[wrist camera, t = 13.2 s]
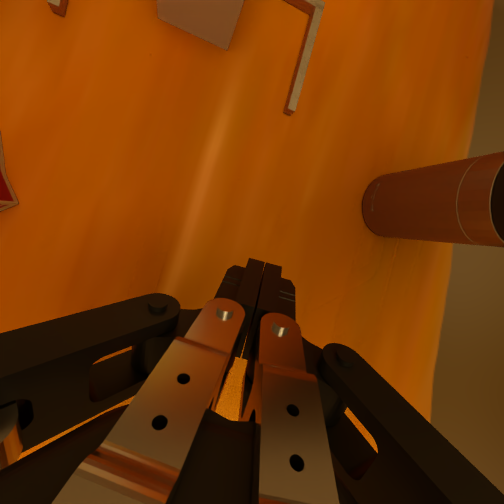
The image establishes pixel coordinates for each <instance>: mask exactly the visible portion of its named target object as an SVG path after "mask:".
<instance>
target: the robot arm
mask: <svg viewBox="0 0 504 504" xmlns="http://www.w3.org/2000/svg"><path fill="white" fill-rule="evenodd" d="M362 210H363V216H364V219H365V222H366V224H367V226H368V227H369V228H370V229H371V230H372V232H374V233H375V234H377V235H379V236H383V237H392V238H403V239H413V240H424V241H435V242H446V243H458V244H469V245H480V246H494V247H504V151H503V152H497V153H492V154H488V155H483V156H478V157H473V158H468V159H463V160H458V161H453V162H447V163H442V164H437V165H432V166H427V167H422V168H417V169H412V170H407V171H401V172H396V173H391V174H386V175H383V176H380V177H378V178H377V179H375V180H374V181H373V182H372V183H371V184H370V185H369V187H368V189H367V190H366V193H365V195H364V199H363V208H362ZM264 263H265V262H262V261H259V260H255V259H251V258H249V260H248V263H247V266H246V268H244V267H240V266H236V265H234V266H232V267H231V268H229V269H228V270H227V272H226V274H225V277H224V278H223V280H222V283H221V285H220V287H219V289H218V291H217V293H216V295H215V298H214V299H212V300H210V301H208V302H207V303H206V304H205V306H204V308H202V309H197V310H186V309H180V304H179V302H178V301H177V300H176V299H175V298H173V297H172V296H169V295H166V294H160V293H153V294H147V295H144V296H140V297H136V298H132V299H129V300H125V301H121V302H117V303H113V304H110V305H106V306H102V307H98V308H95V309H91V310H87V311H83V312H80V313H76V314H72V315H68V316H64V317H61V318H57V319H53V320H49V321H46V322H42V323H38V324H34V325H30V326H27V327H23V328H19V329H15V330H12V331H8V332H4V333H0V504H504V495H503V494H502V493H501V492H500V491H499V490H498V489H497V488H496V487H495V486H494V485H493V484H492V483H491V482H490V481H489V480H488V479H487V478H486V477H485V476H484V475H483V474H482V473H481V472H480V471H478V469H477V468H476V467H474V466H473V465H472V464H471V463H470V462H469V461H468V460H467V459H466V458H465V457H464V456H463V455H462V454H461V453H460V452H459V451H458V450H457V449H456V448H455V447H454V446H453V445H452V444H451V443H449V442H448V440H447V439H446V438H444V437H443V436H442V435H441V434H440V433H439V432H438V431H437V430H436V429H435V428H434V427H433V426H432V425H431V424H430V423H429V422H428V421H427V420H426V419H425V418H424V417H423V416H422V415H421V414H420V413H419V412H418V411H417V410H416V409H415V408H414V407H412V406H411V405H410V404H409V403H408V402H407V401H406V400H405V399H404V398H403V397H402V396H401V395H400V394H399V393H398V392H397V391H396V390H395V389H394V388H393V387H392V386H391V385H390V384H389V383H388V382H387V381H386V380H385V379H384V378H383V377H381V376H380V375H379V374H378V373H377V372H376V371H375V370H374V369H373V368H372V367H371V366H370V365H369V364H368V363H367V362H366V361H365V360H364V359H363V358H362V357H361V356H360V355H359V354H358V353H356V352H355V351H354V350H352V349H351V348H349V347H347V346H345V345H342V344H338V343H330V344H327V345H326V346H325V347H324V348H323V349H321V348H319V347H317V346H315V345H313V344H311V343H310V342H308V341H307V340H305V339H304V338H303V337H302V336H301V330H300V327H299V325H298V324H297V323H296V318H295V287H294V285H293V283H292V282H291V280H287V279H284V278H281V271H282V267H281V266H277V265H273V264H270V263H266V264H265V267H264ZM263 268H264V271H263ZM262 273H263V274H262ZM261 277H262V278H261ZM246 336H247V338H246ZM245 339H246V342H245ZM244 343H245V347H244V351H243V356H242V358H243V359H246V360H248V361H247V366H246V370H245V373H244V376H243V382H242V391H241V400H240V409H239V418H238V421H231V420H228V419H226V418H224V417H222V416H221V415H219V414H217V413H216V412H215V410H216V407H217V404H218V402H219V399H220V396H221V394H222V391H223V388H224V385H225V383H226V380H227V377H228V374H229V371H230V369H231V367H232V366H233V364H234V360H235V357H239V358H240V357H241V353H242V350H243V346H244ZM130 346H132V350H129V351H127V352H124V353H121V354H119V355H116V356H114V357H111V358H109V359H106V360H104V361H101V362H98V363H96V364H93V363H94V362H96V361H97V360H98V359H100V358H102V357H104V356H106V355H109V354H112V353H114V352H117V351H120V350H122V349H125V348H127V347H130ZM134 395H135V397H134V398H133V400H132V401H131V403H130V404H128V405H124V406H121V407H118V408H115V409H113V410H111V411H108V412H106V413H104V414H102V415H100V416H98V417H97V418H95V419H93V420H91V421H89V422H87V423H86V424H84V425H82V426H80V427H78V428H76V429H75V430H73V431H71V432H69V433H67V434H66V435H64V436H62V437H60V438H58V439H56V440H55V441H53V442H51V443H49V444H47V445H45V446H44V447H42V448H40V449H38V450H36V451H35V452H33V453H31V454H29V455H27V456H25V457H24V458H22V459H20V460H18V458H19V456H20V454H21V453H22V452H24V451H26V450H28V449H30V448H32V447H34V446H36V445H38V444H40V443H42V442H44V441H46V440H48V439H50V438H52V437H54V436H56V435H58V434H60V433H62V432H64V431H66V430H67V429H69V428H71V427H73V426H75V425H77V424H79V423H81V422H83V421H85V420H87V419H89V418H91V417H93V416H95V415H97V414H99V413H101V412H103V411H105V410H107V409H109V408H111V407H113V406H115V405H117V404H119V403H121V402H123V401H125V400H127V399H129V398H130V397H132V396H134ZM347 407H348V408H349V409H350V410H351V411H352V413H353V414H354V415H355V416H356V417H357V419H358V420H359V421H360V422H361V423H362V425H363V426H364V427H365V428H366V429H367V430H368V432H369V433H370V434H371V435H372V437H373V438H374V440H375V442H376V444H377V448H378V453H377V452H376V451H375V450H374V449H373V448H372V446H371V445H370V444H369V443H368V441H367V440H366V439H365V438H364V437H363V435H362V434H361V433H360V432H359V430H358V429H357V428H356V427H355V425H354V424H353V423H352V422H351V421H350V419H349V418H348V417H347V416H346V414H345V413H344V412H345V410H346V408H347ZM17 460H18V461H17Z"/></svg>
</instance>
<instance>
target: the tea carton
mask: <svg viewBox="0 0 504 504" xmlns="http://www.w3.org/2000/svg"><path fill="white" fill-rule="evenodd" d="M243 3H244V0H157V11H158V18H159V19H161V20H163V21H165V22H167V23H169V24H171V25H173V26H176V27H178V28H180V29H182V30H184V31H186V32H188V33H191V34H193V35H195V36H197V37H199V38H201V39H203V40H206V41H208V42H210V43H212V44H214V45H216V46H218V47H220V48H223V49H225V50H228V47H229V44H230V41H231V38H232V35H233V32H234V29H235V26H236V23H237V20H238V17H239V15H240V12H241V9H242V6H243Z"/></svg>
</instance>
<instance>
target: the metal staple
mask: <svg viewBox="0 0 504 504" xmlns="http://www.w3.org/2000/svg"><path fill="white" fill-rule="evenodd" d="M284 1H286V2H288V3H289V4H291V5H293V6H295V7H296V8H298V9H300V10H302V11H304V12H305V13H307V14H309V15H310V17H309V21H308V24H307V28H306V32H305V35H304V39H303V43H302V46H301V50H300V53H299V57H298V61H297V64H296V68H295V72H294V75H293V79H292V83H291V86H290V90H289V94H288V97H287V101H286V105H285V108H284V112H283V113H285V114H288V115H291V114H293V113H294V112H295V110H296V106H297V103H298V99H299V96H300V92H301V88H302V85H303V81H304V77H305V74H306V70H307V67H308V63H309V59H310V56H311V52H312V48H313V45H314V41H315V38H316V34H317V30H318V27H319V23H320V19H321V16H322V12H323V9H324V5H325V2H323V1H321V0H284ZM47 2H48V4H49V6H50V8H51V9H52V11H53V12H54V13H56V14H59V15H61V16H63V17H64V16H65V12H66V8H67V4H68V0H47Z"/></svg>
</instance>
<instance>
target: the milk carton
mask: <svg viewBox="0 0 504 504" xmlns="http://www.w3.org/2000/svg"><path fill="white" fill-rule="evenodd" d="M17 204H19V203H18V200H17V198H16V196H15V194H14V192H13V189H12V187H11V185H10V183H9V180H8V178H7V176H6V172H5V164H4V156H3V148H2V140H1V132H0V211H2V210H5V209H7V208H10V207H12V206H14V205H17Z"/></svg>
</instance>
